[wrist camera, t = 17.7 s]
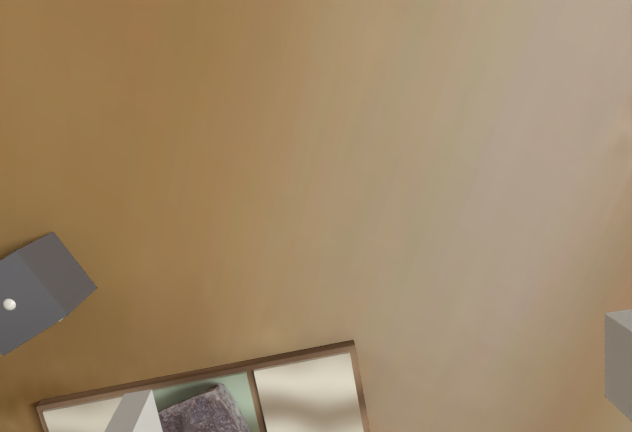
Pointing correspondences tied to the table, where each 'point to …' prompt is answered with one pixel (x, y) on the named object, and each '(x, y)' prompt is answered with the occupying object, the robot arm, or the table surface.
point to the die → (38, 290)
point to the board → (242, 394)
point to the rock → (204, 413)
